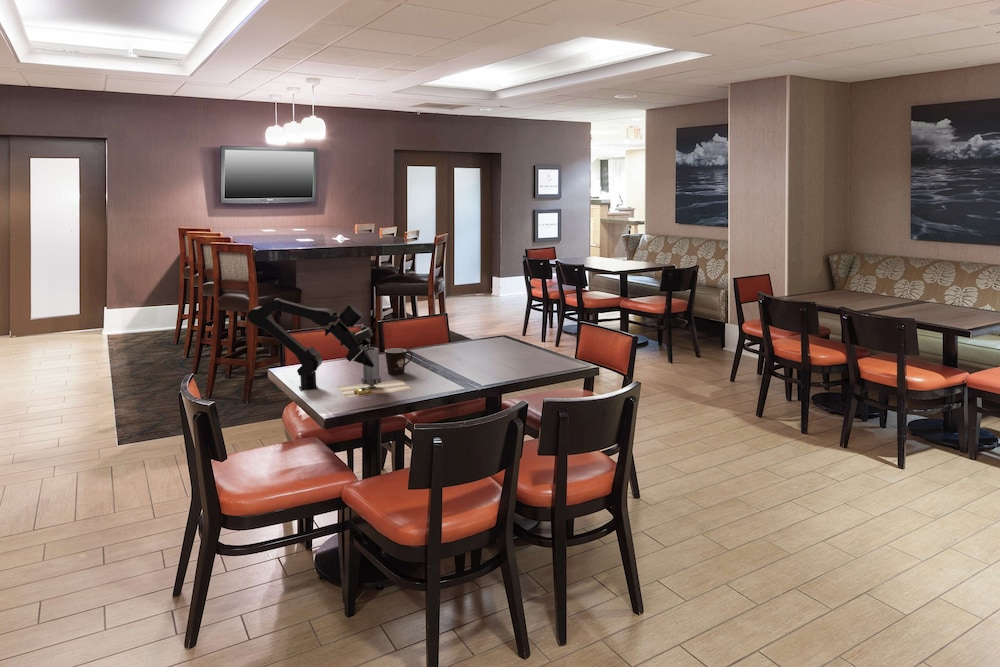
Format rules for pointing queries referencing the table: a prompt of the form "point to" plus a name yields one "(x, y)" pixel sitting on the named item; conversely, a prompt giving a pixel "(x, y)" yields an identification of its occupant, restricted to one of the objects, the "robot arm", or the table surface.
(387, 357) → the coffee mug
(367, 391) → the brass gear
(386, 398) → the table surface
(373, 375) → the grey octagonal tube
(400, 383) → the gear board
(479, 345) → the table surface
